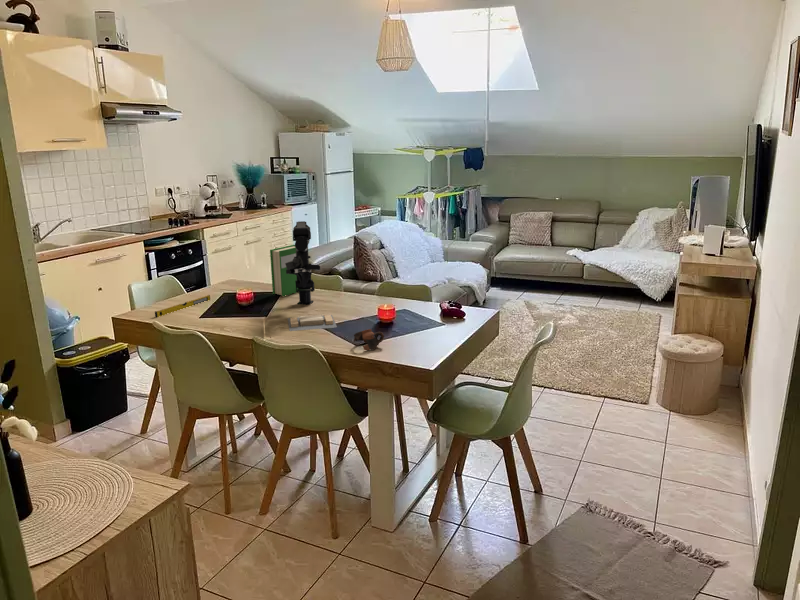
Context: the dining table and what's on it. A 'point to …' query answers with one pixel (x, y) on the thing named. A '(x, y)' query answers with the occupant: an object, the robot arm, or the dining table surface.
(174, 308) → the spirit level
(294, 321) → the plank mat
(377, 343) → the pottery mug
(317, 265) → the robot arm
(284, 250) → the hardback book
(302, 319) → the birch plank
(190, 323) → the dining table surface
